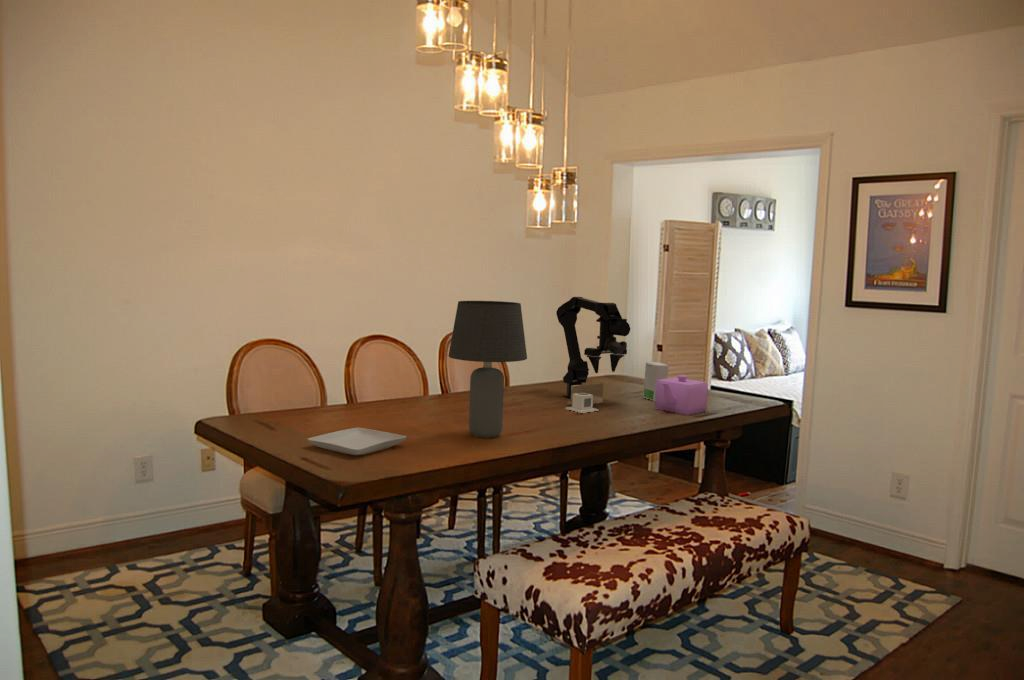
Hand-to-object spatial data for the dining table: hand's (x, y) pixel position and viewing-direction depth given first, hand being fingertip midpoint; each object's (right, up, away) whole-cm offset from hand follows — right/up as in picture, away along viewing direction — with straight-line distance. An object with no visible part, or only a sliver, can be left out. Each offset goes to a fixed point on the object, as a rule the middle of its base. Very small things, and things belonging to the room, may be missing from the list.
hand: (604, 372), depth 306 cm
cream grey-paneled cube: (-10, -13, -14) cm, 22 cm away
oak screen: (-7, -13, +1) cm, 15 cm away
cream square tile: (-11, -14, -14) cm, 22 cm away
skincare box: (+23, -12, +17) cm, 31 cm away
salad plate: (-83, -19, -81) cm, 118 cm away
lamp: (-46, -18, -61) cm, 79 cm away
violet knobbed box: (+28, -15, -7) cm, 33 cm away
